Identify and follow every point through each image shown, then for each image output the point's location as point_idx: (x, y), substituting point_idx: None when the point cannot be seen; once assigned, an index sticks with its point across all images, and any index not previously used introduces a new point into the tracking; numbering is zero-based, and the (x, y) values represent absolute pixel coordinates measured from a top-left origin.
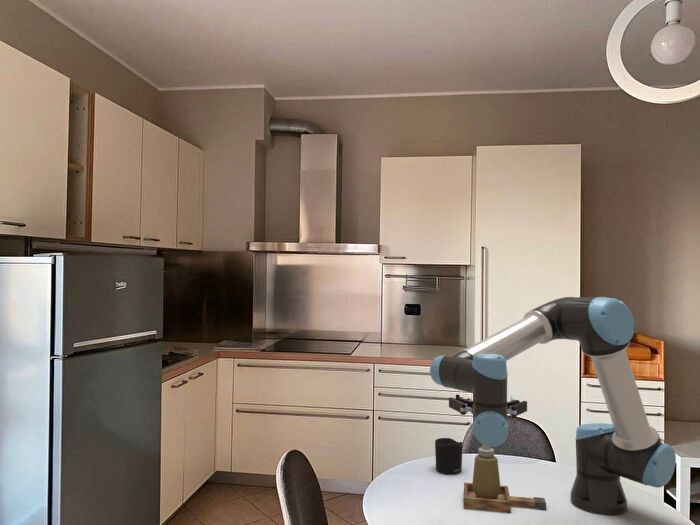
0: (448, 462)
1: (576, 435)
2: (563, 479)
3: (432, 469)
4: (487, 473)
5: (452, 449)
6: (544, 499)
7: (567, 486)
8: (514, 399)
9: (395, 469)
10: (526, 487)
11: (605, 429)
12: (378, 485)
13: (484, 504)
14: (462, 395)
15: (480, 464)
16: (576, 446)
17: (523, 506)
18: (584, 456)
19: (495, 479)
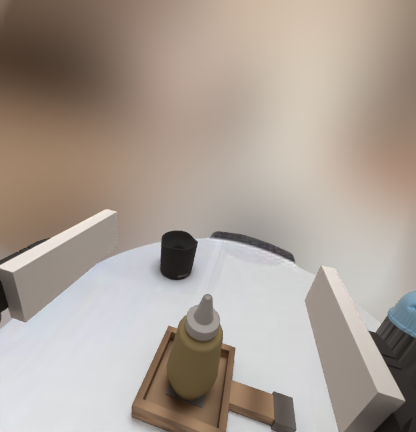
0: (171, 267)
1: (403, 319)
2: None
3: (157, 264)
4: (192, 371)
5: (178, 254)
6: (292, 407)
7: None
8: (396, 390)
9: (111, 258)
10: (264, 327)
11: None
12: None
13: (171, 425)
14: (60, 242)
15: (181, 350)
16: (389, 334)
17: (250, 416)
18: (412, 373)
19: (207, 378)
